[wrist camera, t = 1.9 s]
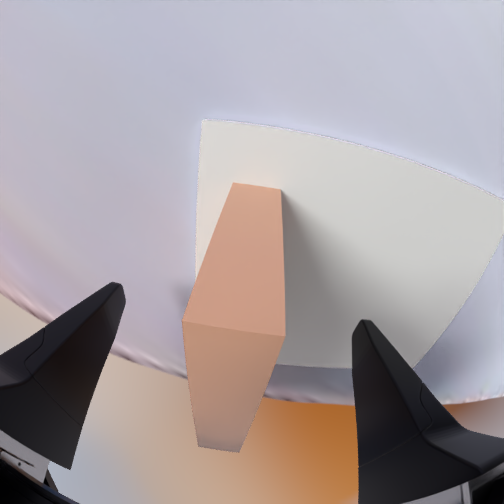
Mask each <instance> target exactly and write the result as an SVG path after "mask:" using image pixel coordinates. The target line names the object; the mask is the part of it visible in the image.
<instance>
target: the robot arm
mask: <svg viewBox="0 0 504 504" xmlns="http://www.w3.org/2000/svg"><path fill="white" fill-rule="evenodd" d="M125 303H126V299H125V295H124V290H123V286H122V285H121V284H120V283H115V282H111V283H109V284H108V285H106V286H104V287H103V288H101V289H100V290H98V291H97V292H95V293H94V294H92V295H91V296H89V297H88V298H86V299H85V300H83V301H82V302H80V303H79V304H77V305H76V306H74V307H73V308H71V309H70V310H68V311H67V312H65V313H64V314H62V315H61V316H59V317H58V318H56V319H55V320H54V321H52V322H51V323H49V324H48V325H46V326H45V328H42V329H41V330H39V331H38V332H37V333H35V334H33V335H32V336H31V337H29V338H28V339H26V340H25V341H23V342H21V343H20V344H18V345H16V346H14V347H13V348H11V349H9V350H8V351H6V352H4V353H3V354H1V355H0V504H79V503H77V502H75V501H73V500H71V499H69V498H68V497H66V496H64V495H62V494H60V493H59V492H58V489H57V488H56V485H55V483H54V481H53V479H52V477H51V475H50V473H49V470H48V465H49V461H52V462H54V463H56V464H58V465H60V466H62V467H64V468H67V469H69V470H70V469H71V466H72V462H73V459H74V455H75V451H76V447H77V444H78V441H79V437H80V434H81V430H82V426H83V423H84V420H85V417H86V414H87V411H88V408H89V405H90V402H91V399H92V396H93V393H94V391H95V388H96V385H97V382H98V380H99V377H100V374H101V372H102V369H103V367H104V364H105V361H106V359H107V356H108V354H109V351H110V349H111V347H112V344H113V342H114V339H115V336H116V333H117V330H118V326H119V323H120V320H121V317H122V313H123V310H124V307H125ZM352 378H353V387H354V398H355V409H356V422H357V439H358V465H359V468H358V470H359V471H358V473H359V496H358V497H359V499H358V504H504V438H498V437H494V436H490V435H485V434H481V433H477V432H473V431H470V430H467V429H465V428H464V427H462V426H461V425H460V424H459V423H458V422H457V421H456V420H455V418H454V417H453V416H452V415H451V414H450V413H449V412H448V411H447V410H446V409H445V408H444V407H443V406H442V404H441V403H440V402H439V401H438V400H437V399H436V398H435V397H434V395H433V394H432V393H431V392H430V390H429V389H428V388H427V387H426V385H425V384H424V383H422V381H421V379H420V378H419V377H418V376H417V374H416V373H415V372H414V371H413V369H412V368H411V367H410V366H409V364H408V363H407V362H406V361H405V360H404V358H403V357H402V356H401V355H400V353H399V352H398V351H397V350H396V349H395V347H394V346H393V345H392V344H391V343H390V342H389V340H388V339H387V338H386V337H385V336H384V334H383V333H382V332H381V331H380V330H379V329H378V327H377V326H376V325H375V324H374V323H373V322H372V321H371V320H367V319H361V320H360V321H359V323H358V324H357V326H356V328H355V330H354V331H353V333H352Z"/></svg>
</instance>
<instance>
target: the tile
mask: <svg viewBox="0 0 504 504" xmlns="http://www.w3.org/2000/svg"><path fill="white" fill-rule="evenodd" d="M182 328H183V339H184V349H185V358H186V367H187V376H188V383H189V390H190V398H191V405H192V412H193V418H194V424H195V430H196V436H197V442H198V446H199V447H204V448H210V449H216V450H223V451H230V452H239V451H240V449H241V447H242V445H243V442H244V440H245V438H246V436H247V433H248V431H249V428H250V426H251V424H252V422H253V419H254V417H255V414H256V412H257V410H258V407H259V405H260V402H261V399H262V397H263V395H264V392H265V390H266V387H267V385H268V382H269V379H270V377H271V374H272V372H273V369H274V366H275V364H276V361H277V358H278V356H279V353H280V350H281V347H282V345H283V342H284V339H285V282H284V250H283V226H282V204H281V189H275V188H269V187H263V186H256V185H249V184H242V183H234V182H233V184H232V186H231V188H230V191H229V194H228V196H227V199H226V201H225V204H224V206H223V209H222V211H221V214H220V216H219V219H218V222H217V224H216V227H215V229H214V232H213V235H212V237H211V240H210V243H209V245H208V248H207V251H206V254H205V256H204V259H203V262H202V265H201V267H200V270H199V273H198V276H197V278H196V281H195V284H194V287H193V290H192V293H191V296H190V298H189V301H188V304H187V307H186V310H185V313H184V316H183V319H182Z"/></svg>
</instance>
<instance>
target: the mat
mask: <svg viewBox="0 0 504 504" xmlns="http://www.w3.org/2000/svg"><path fill="white" fill-rule="evenodd" d="M233 182H234V183H242V184H249V185H256V186H263V187H269V188H275V189H281V204H282V226H283V250H284V282H285V339H284V342H283V345H282V347H281V350H280V353H279V356H278V358H277V361H276V364H281V365H292V366H304V367H320V368H344V369H352V333H353V331H354V330H355V328H356V326H357V324H358V323H359V321H360V320H361V319H367V320H371V321H372V322H373V323H374V324H375V325H376V326H377V327H378V329H379V330H380V331H381V332H382V333H383V334H384V336H385V337H386V338H387V339H388V340H389V342H390V343H391V344H392V345H393V346H394V347H395V349H396V350H397V351H398V352H399V353H400V355H401V356H402V357H403V358H404V360H405V361H406V362H407V363H408V364H409V366H410V367H411V368H414V367H415V366H416V365H417V363H418V362H419V361H420V360H421V359H422V358H423V357H424V355H425V354H426V353H427V352H428V351H429V350H430V348H431V347H432V346H433V345H434V343H435V342H436V341H437V340H438V339H439V337H440V336H441V335H442V333H443V332H444V331H445V330H446V328H447V327H448V326H449V324H450V323H451V321H452V320H453V319H454V317H455V316H456V315H457V313H458V312H459V310H460V309H461V307H462V306H463V304H464V303H465V301H466V300H467V298H468V297H469V295H470V294H471V292H472V291H473V289H474V288H475V286H476V284H477V283H478V281H479V279H480V278H481V276H482V274H483V273H484V271H485V269H486V267H487V266H488V264H489V262H490V260H491V258H492V256H493V254H494V253H495V251H496V249H497V247H498V245H499V243H500V241H501V239H502V236H503V234H504V200H503V199H501V198H499V197H497V196H495V195H493V194H491V193H489V192H487V191H485V190H483V189H481V188H479V187H477V186H474V185H472V184H470V183H468V182H465V181H463V180H461V179H459V178H456V177H454V176H451V175H449V174H447V173H444V172H442V171H439V170H436V169H434V168H431V167H429V166H426V165H423V164H420V163H418V162H415V161H412V160H409V159H406V158H403V157H400V156H397V155H394V154H390V153H387V152H384V151H381V150H377V149H374V148H370V147H367V146H363V145H359V144H356V143H352V142H348V141H344V140H340V139H335V138H331V137H327V136H322V135H318V134H313V133H308V132H303V131H297V130H292V129H286V128H280V127H274V126H268V125H261V124H253V123H245V122H237V121H227V120H217V119H204V120H202V127H201V139H200V153H199V169H198V188H197V213H196V260H195V281H196V278H197V276H198V273H199V270H200V267H201V265H202V262H203V259H204V256H205V254H206V251H207V248H208V245H209V243H210V240H211V237H212V235H213V232H214V229H215V227H216V224H217V222H218V219H219V216H220V214H221V211H222V209H223V206H224V204H225V201H226V199H227V196H228V194H229V191H230V188H231V186H232V184H233Z"/></svg>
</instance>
